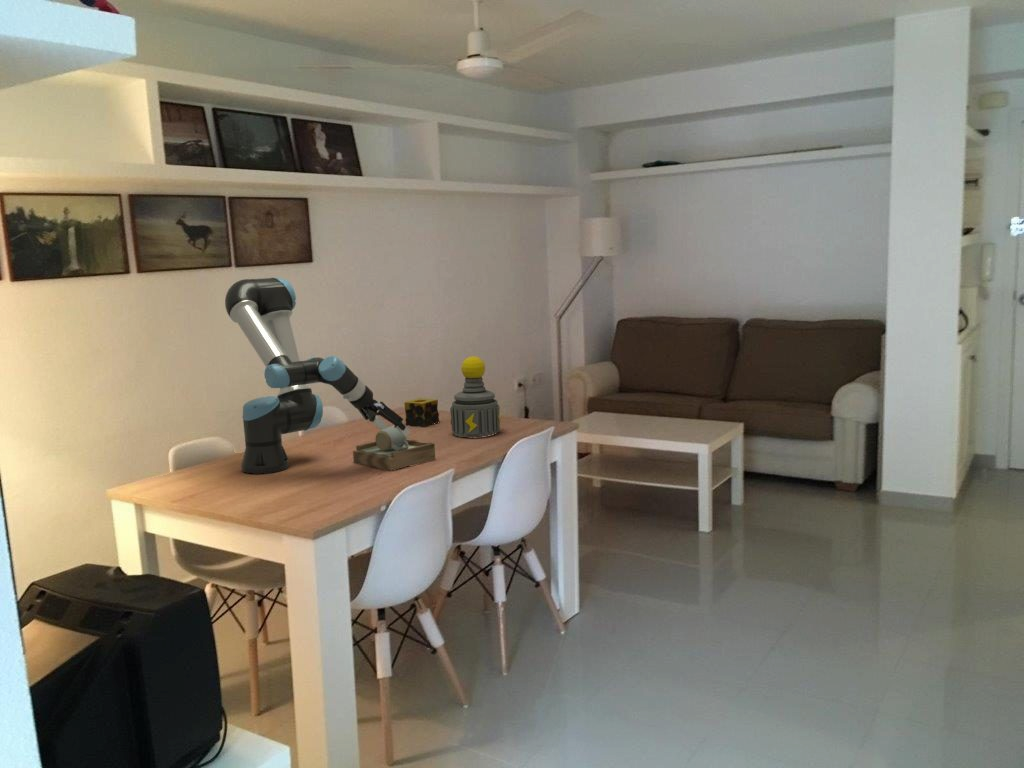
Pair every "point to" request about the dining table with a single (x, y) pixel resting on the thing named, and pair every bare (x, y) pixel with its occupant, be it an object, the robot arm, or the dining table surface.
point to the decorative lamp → (474, 404)
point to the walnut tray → (394, 455)
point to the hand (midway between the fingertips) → (397, 432)
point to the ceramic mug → (391, 439)
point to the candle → (421, 412)
